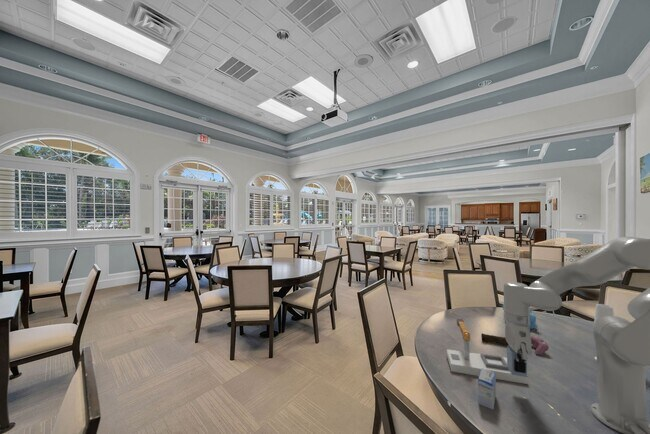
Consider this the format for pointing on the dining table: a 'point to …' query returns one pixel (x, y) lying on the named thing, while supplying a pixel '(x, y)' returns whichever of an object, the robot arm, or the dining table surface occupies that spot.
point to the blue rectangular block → (511, 362)
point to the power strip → (481, 364)
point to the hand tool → (494, 339)
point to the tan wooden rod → (463, 329)
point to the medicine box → (487, 388)
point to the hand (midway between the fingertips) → (516, 367)
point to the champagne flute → (603, 312)
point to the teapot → (531, 319)
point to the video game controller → (539, 345)
